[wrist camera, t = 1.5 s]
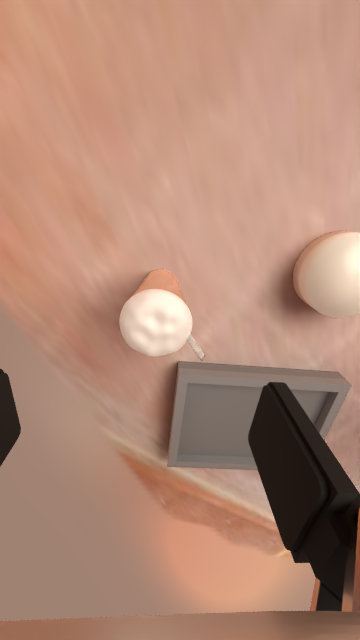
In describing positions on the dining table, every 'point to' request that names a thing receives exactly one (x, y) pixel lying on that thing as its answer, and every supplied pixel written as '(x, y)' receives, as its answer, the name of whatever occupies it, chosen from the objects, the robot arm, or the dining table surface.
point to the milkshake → (157, 317)
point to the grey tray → (239, 410)
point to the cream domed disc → (330, 274)
